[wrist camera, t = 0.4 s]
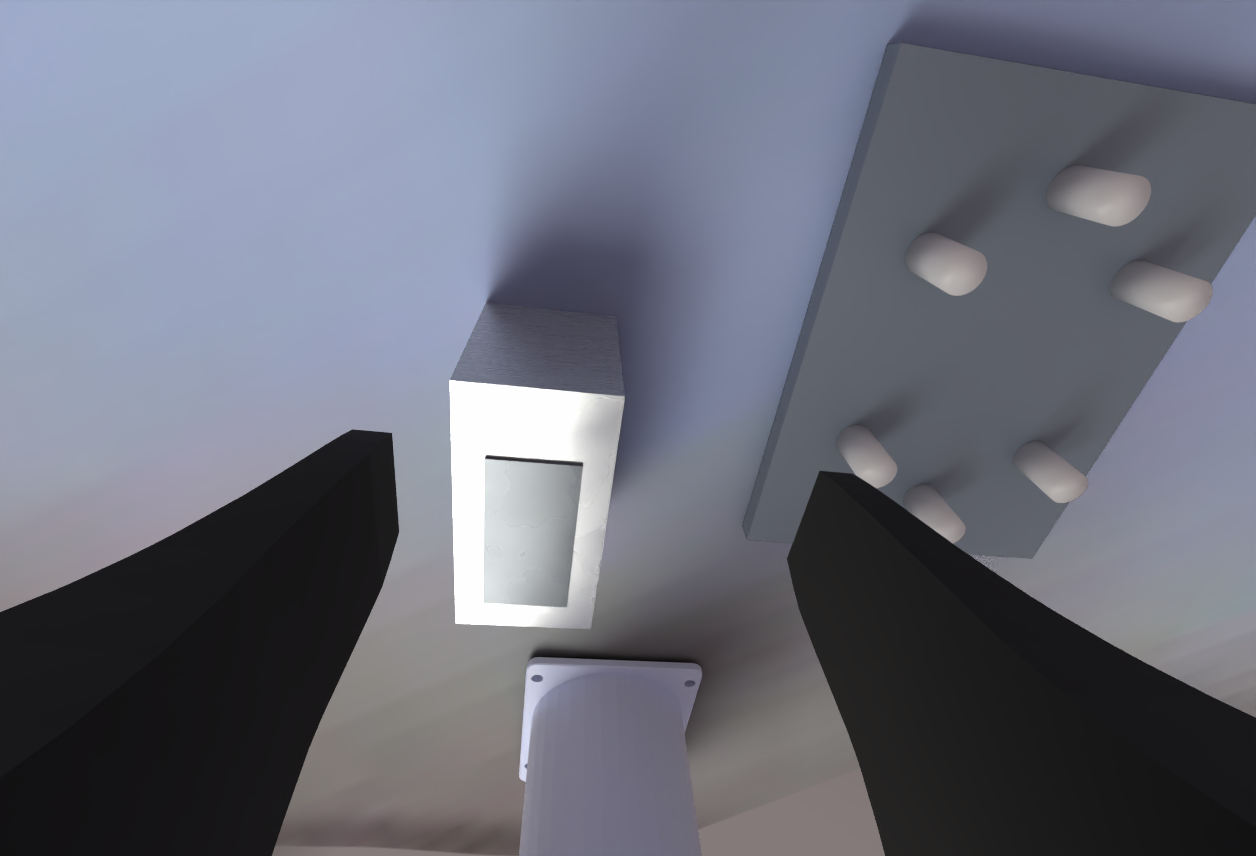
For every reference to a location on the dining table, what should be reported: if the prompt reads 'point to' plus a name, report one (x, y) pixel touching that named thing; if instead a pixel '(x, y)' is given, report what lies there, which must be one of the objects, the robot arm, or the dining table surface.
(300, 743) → the robot arm
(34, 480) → the dining table surface
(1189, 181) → the grey knobbed plate
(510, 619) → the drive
